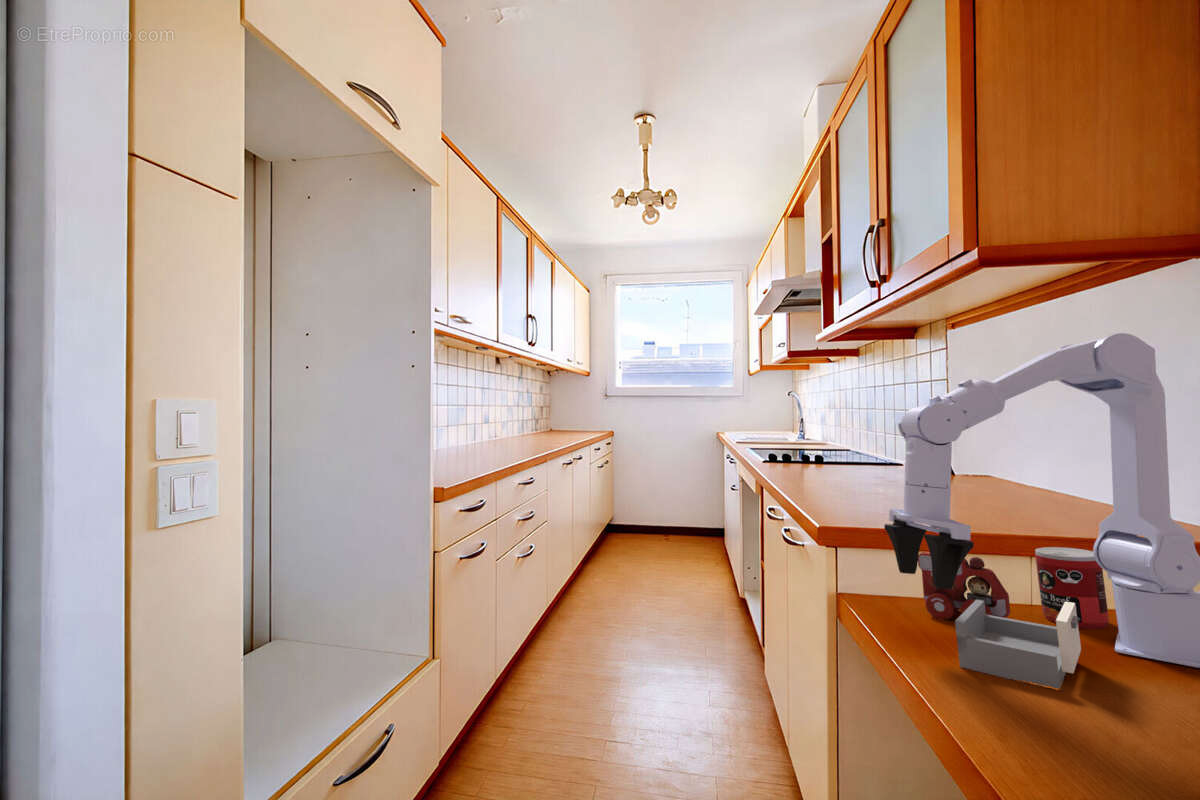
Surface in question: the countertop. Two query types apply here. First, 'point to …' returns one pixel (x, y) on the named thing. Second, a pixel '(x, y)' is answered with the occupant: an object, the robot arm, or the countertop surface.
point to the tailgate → (1068, 637)
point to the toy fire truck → (964, 589)
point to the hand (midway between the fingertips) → (924, 580)
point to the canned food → (1072, 585)
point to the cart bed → (1008, 647)
